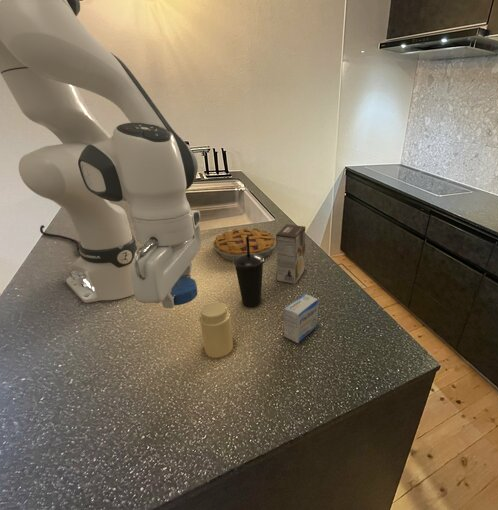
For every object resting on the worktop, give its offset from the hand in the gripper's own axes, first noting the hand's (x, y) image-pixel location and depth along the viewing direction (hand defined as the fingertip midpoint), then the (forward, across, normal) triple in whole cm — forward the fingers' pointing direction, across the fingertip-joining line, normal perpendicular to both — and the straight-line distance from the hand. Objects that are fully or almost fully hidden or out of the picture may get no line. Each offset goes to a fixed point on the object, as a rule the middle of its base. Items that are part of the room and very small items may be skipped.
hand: (178, 293), depth 59 cm
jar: (+17, +3, -5) cm, 18 cm away
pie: (+17, +52, -2) cm, 55 cm away
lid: (-2, 0, 0) cm, 2 cm away
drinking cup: (+17, +20, -9) cm, 28 cm away
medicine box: (+17, +8, -23) cm, 30 cm away
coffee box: (+17, +35, -19) cm, 43 cm away
